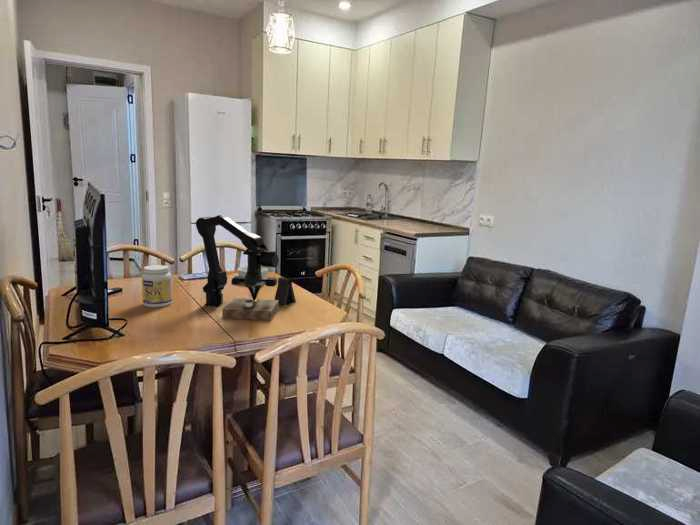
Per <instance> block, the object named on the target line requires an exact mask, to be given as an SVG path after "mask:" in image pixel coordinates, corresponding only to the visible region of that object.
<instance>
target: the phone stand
mask: <svg viewBox="0 0 700 525" xmlns="http://www.w3.org/2000/svg"><path fill="white" fill-rule="evenodd" d="M273 300H279V306H280V305H281V306H280V307H286V306H289V305H291V303H292V304H295V303H296V302H297V300H296V296H295V293H294V289H293V280H292V278H288V277H282V276H281V277H278V279H277V286H276V292H275V295H274V299H273ZM285 305H286V306H285Z"/></svg>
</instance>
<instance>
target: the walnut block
mask: <svg viewBox="0 0 700 525" xmlns="http://www.w3.org/2000/svg"><path fill="white" fill-rule="evenodd" d="M256 299H257V300H258V303H255V302H252V309H245V300H253V298H236V297H234V298H233V299H231V301H229V302H228V303H227V304H226V305H225V306H224V307H223V308H222V312H221V314H222V319H226V318H227V320H228V319H229V320H247V319H252V320H253V321H268V320H271V319H272V320H273V318H275V315H276V314H277V313H278V311H279V308H280V305H279V300H274V299H262V298H256ZM272 320H271V321H272Z"/></svg>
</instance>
